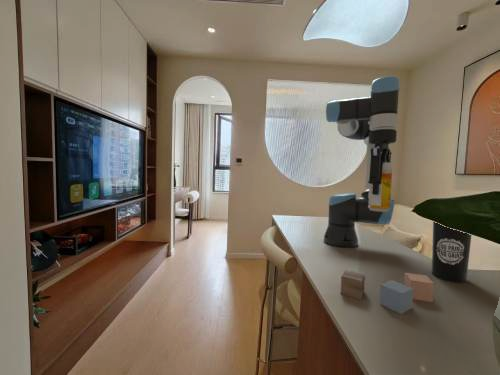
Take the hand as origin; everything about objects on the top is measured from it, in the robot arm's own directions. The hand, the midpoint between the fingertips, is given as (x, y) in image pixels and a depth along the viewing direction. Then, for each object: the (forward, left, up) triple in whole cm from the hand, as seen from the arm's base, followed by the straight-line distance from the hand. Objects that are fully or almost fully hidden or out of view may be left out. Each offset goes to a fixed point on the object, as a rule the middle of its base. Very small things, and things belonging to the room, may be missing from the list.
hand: (378, 204), depth 74 cm
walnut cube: (+17, -1, -23) cm, 29 cm away
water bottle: (-16, +17, -23) cm, 33 cm away
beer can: (0, 0, -2) cm, 2 cm away
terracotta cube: (+6, +12, -23) cm, 27 cm away
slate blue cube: (+16, +9, -23) cm, 29 cm away
